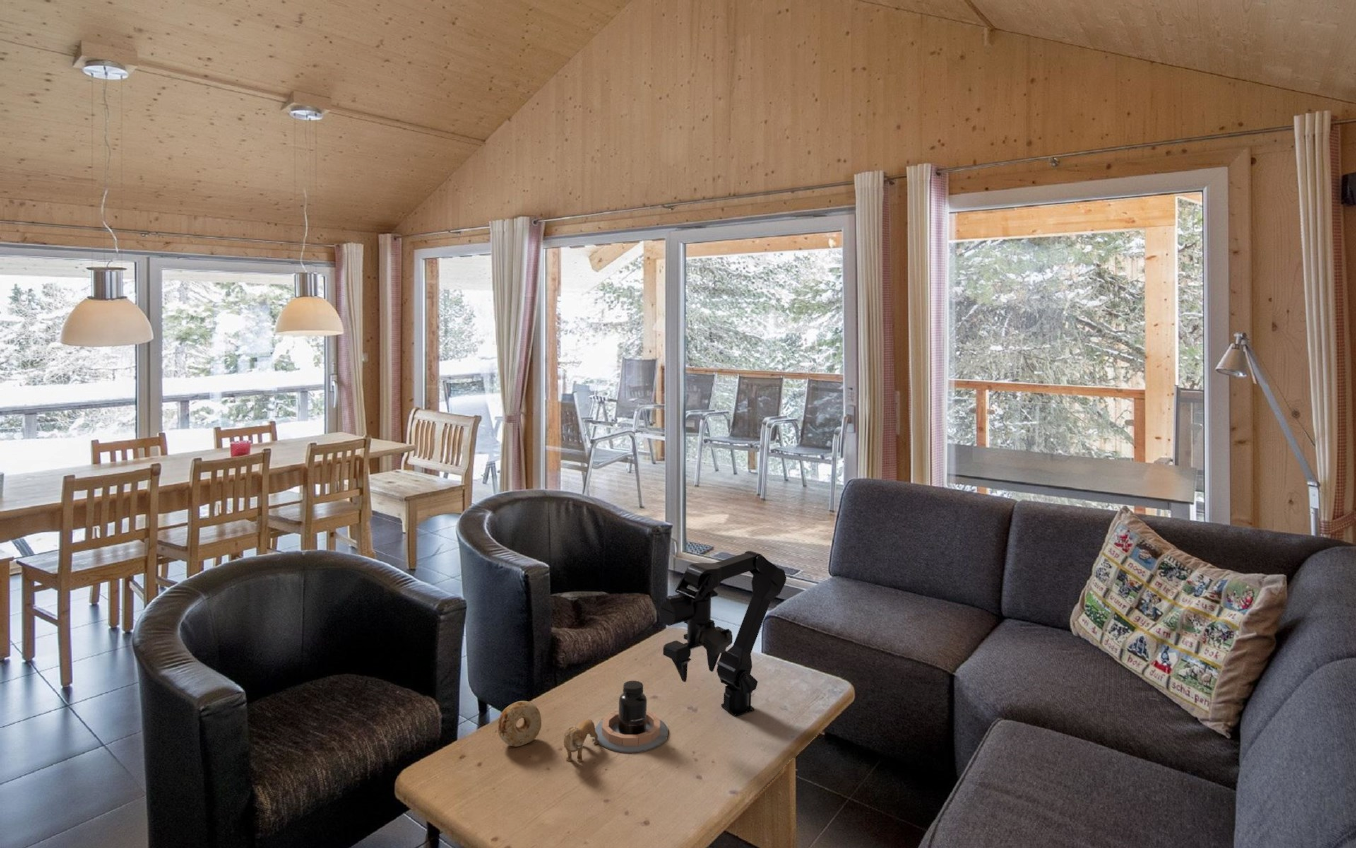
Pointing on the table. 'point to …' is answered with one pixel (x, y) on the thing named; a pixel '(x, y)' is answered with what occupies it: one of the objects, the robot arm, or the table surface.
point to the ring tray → (631, 748)
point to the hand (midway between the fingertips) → (697, 676)
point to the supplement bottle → (632, 709)
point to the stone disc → (526, 730)
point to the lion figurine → (579, 738)
